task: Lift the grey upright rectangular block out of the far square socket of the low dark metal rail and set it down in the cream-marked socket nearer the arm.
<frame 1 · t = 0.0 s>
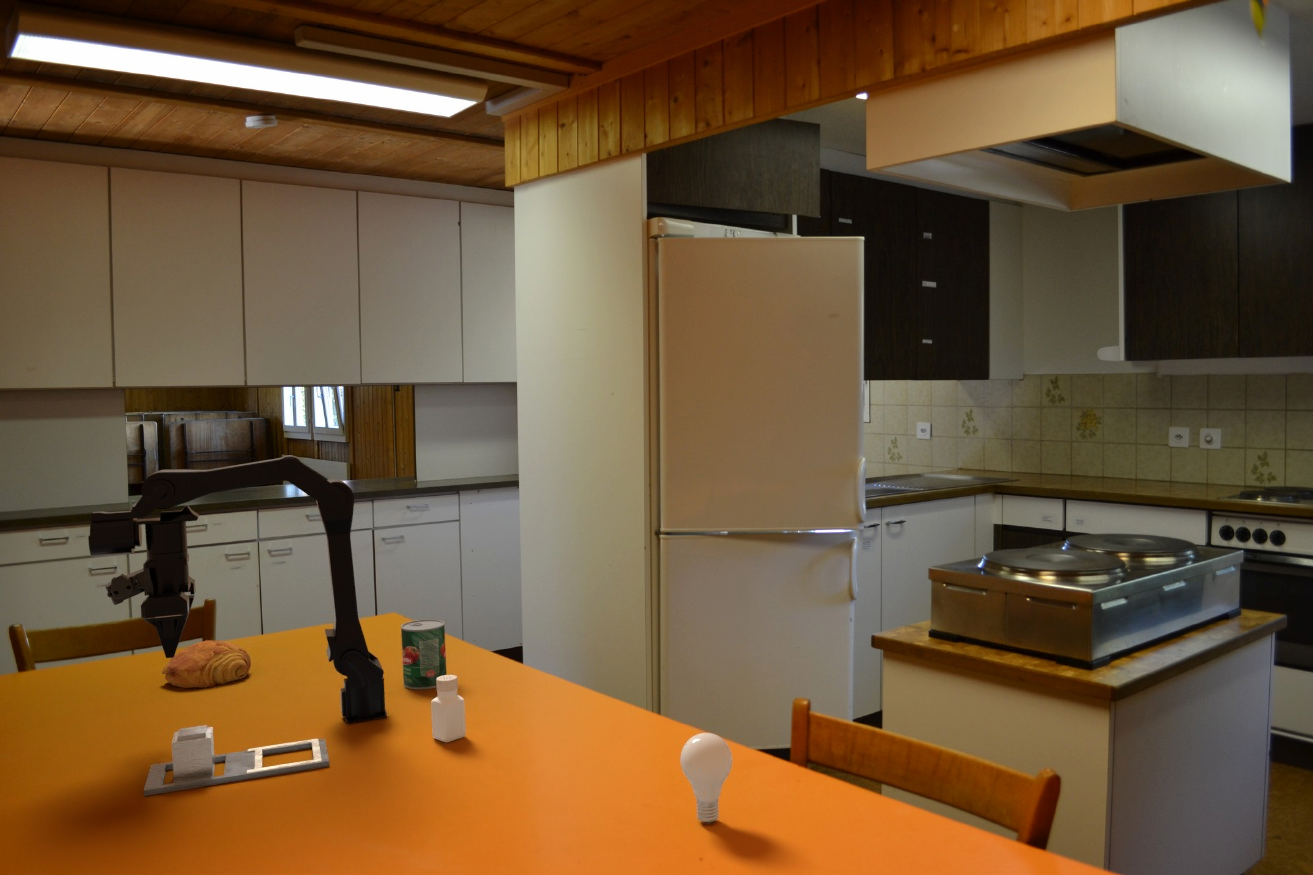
hand: (172, 650, 154), 15 cm above the table, fingers open, 9 cm apart
grey upright rectangular block: (194, 775, 141), resting in rail
canned tomato: (425, 684, 182), on the table
croissant: (207, 679, 190), on the table
rail: (240, 768, 143), on the table
lightbulb: (708, 823, 121), on the table
pepper shaker: (449, 739, 153), on the table
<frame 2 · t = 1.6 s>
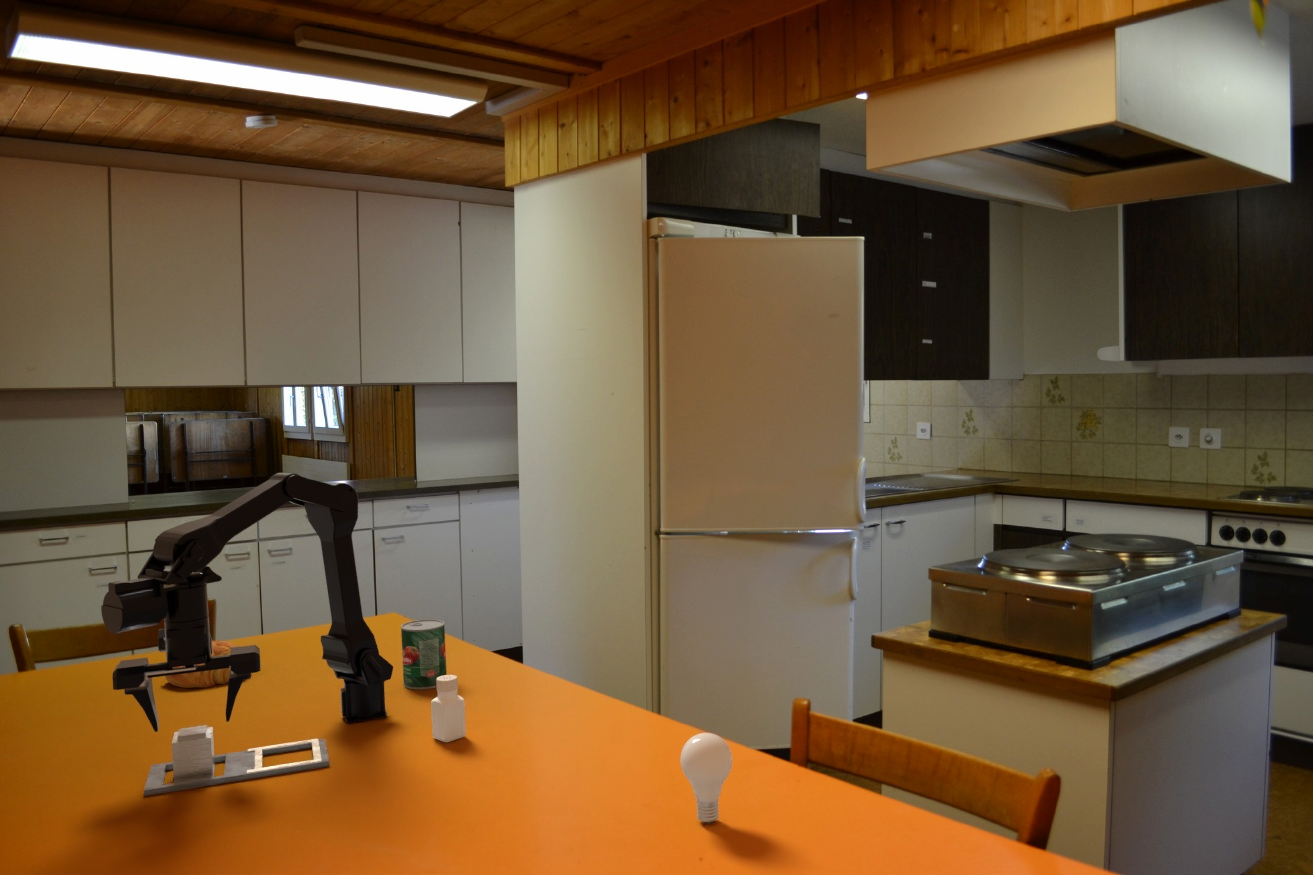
hand: (192, 725, 141), 7 cm above the table, fingers open, 9 cm apart
nothing on the table moved.
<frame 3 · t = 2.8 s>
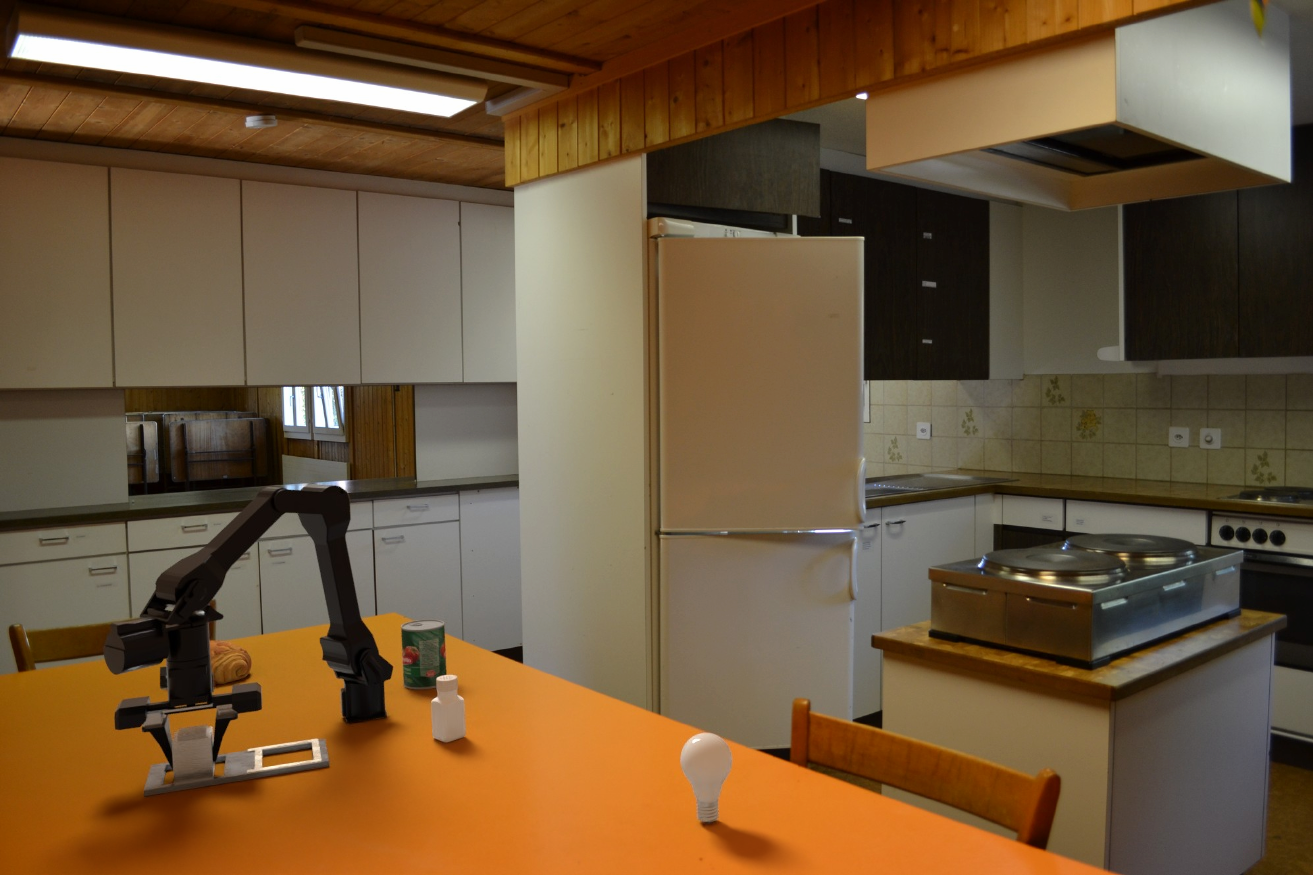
hand: (194, 764, 141), 2 cm above the table, fingers closed on grey upright rectangular block, 5 cm apart
grey upright rectangular block: (194, 775, 141), resting in rail, touching gripper
everything else where it was.
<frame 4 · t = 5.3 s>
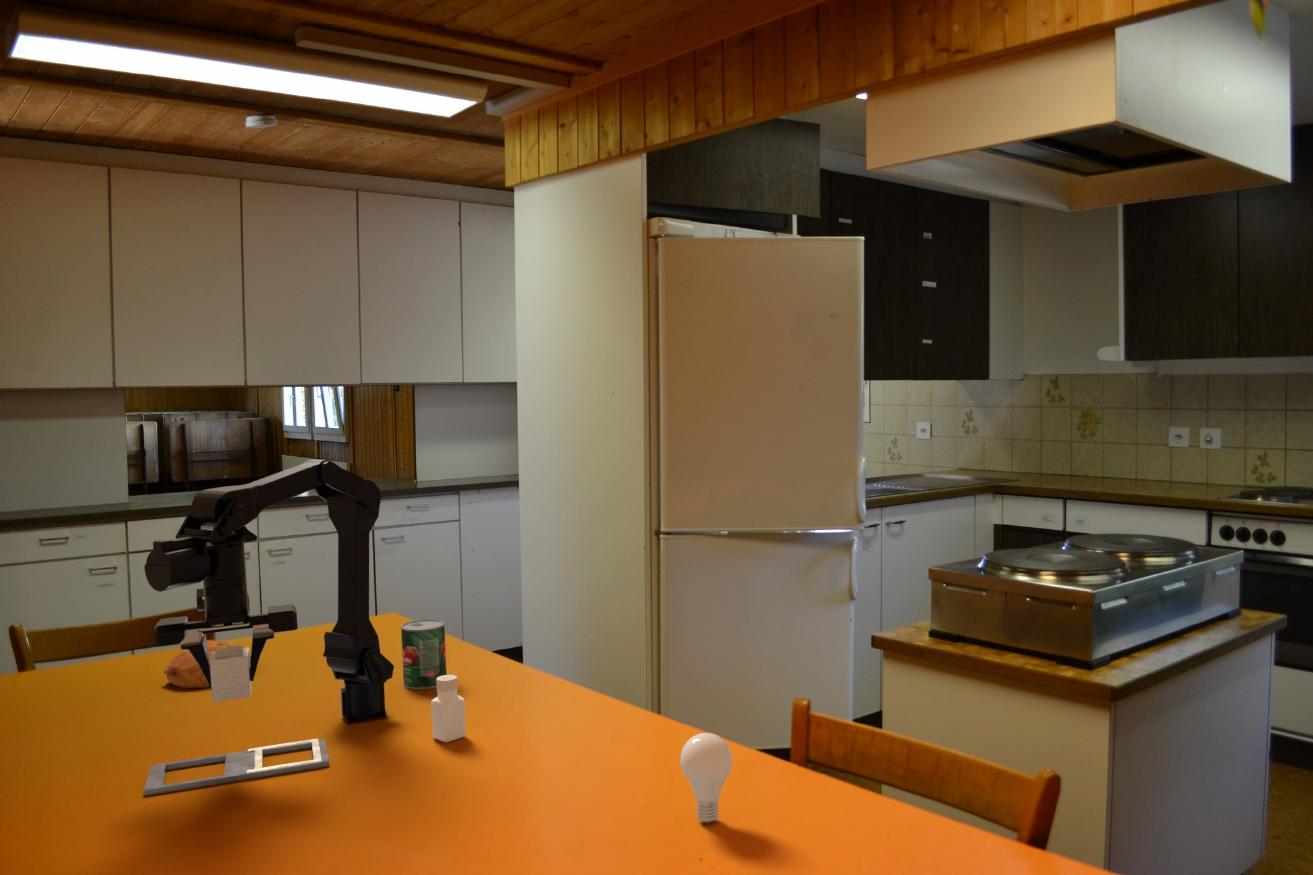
hand: (232, 683, 142), 13 cm above the table, fingers closed on grey upright rectangular block, 5 cm apart
grey upright rectangular block: (232, 694, 143), point 11 cm above the table, touching gripper
everything else where it was.
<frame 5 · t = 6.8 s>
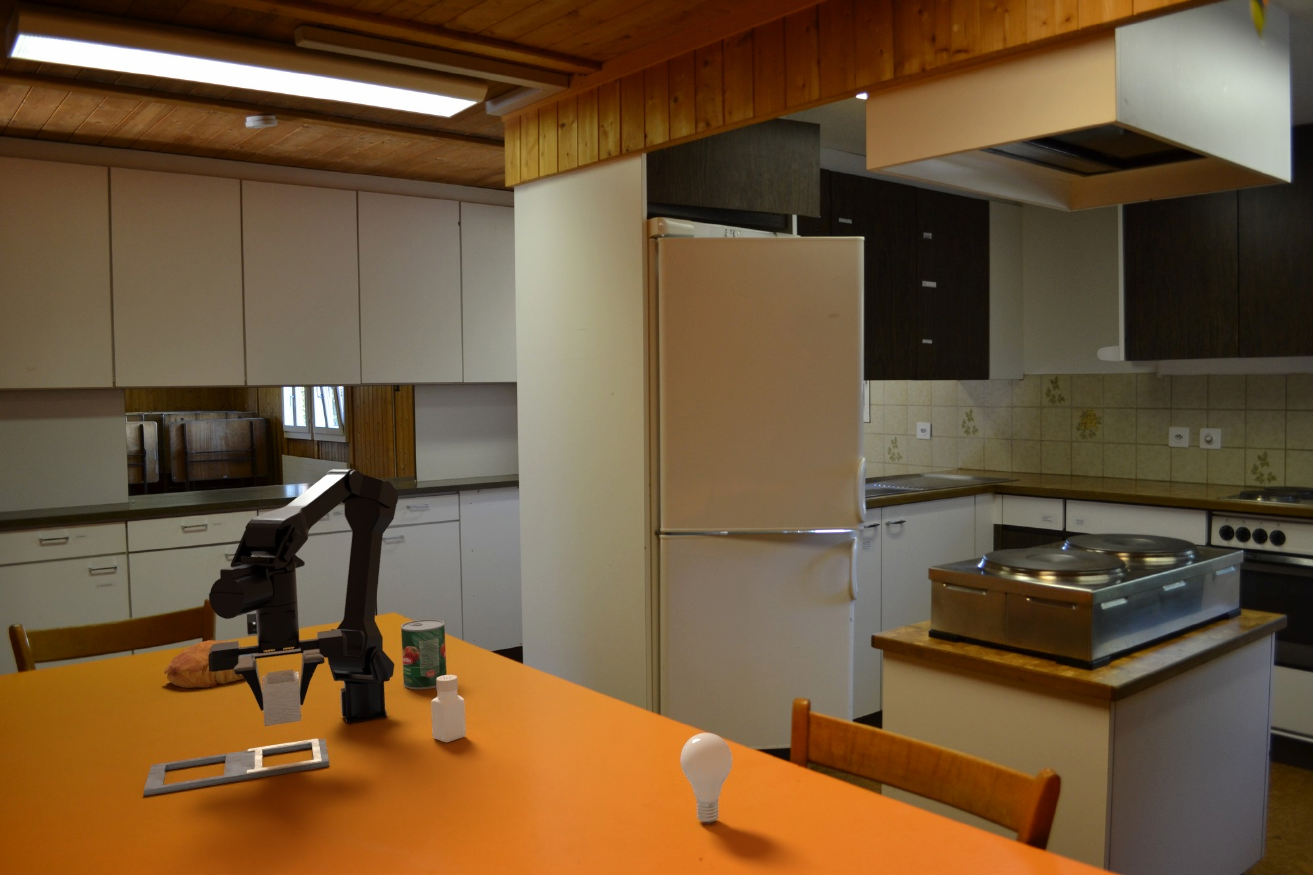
hand: (282, 707, 145), 8 cm above the table, fingers closed on grey upright rectangular block, 5 cm apart
grey upright rectangular block: (282, 718, 145), point 6 cm above the table, touching gripper
everything else where it was.
when the fingers open (3 cm above the table, at t = 8.1 s): grey upright rectangular block drops 2 cm, resting in rail.
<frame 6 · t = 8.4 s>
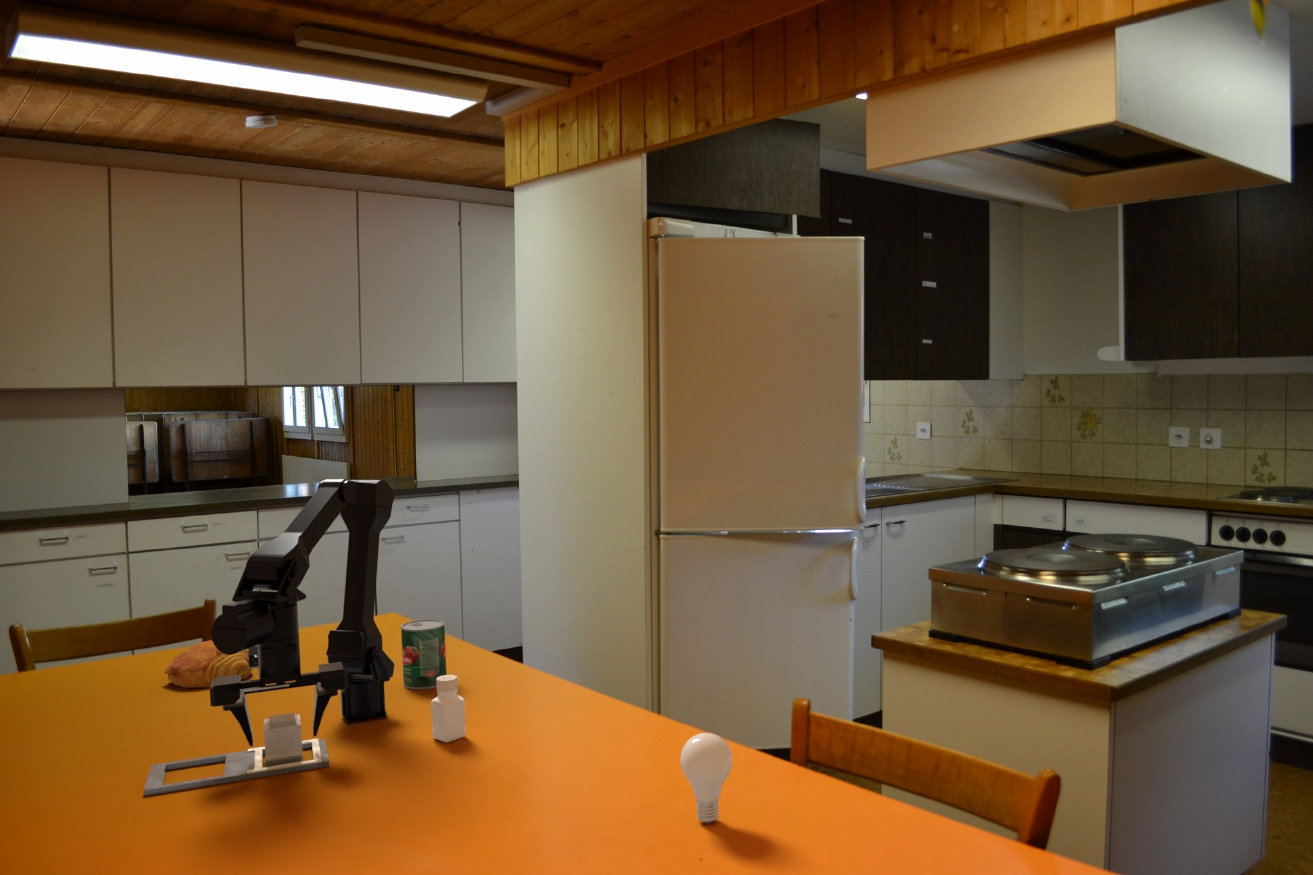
hand: (283, 740, 145), 3 cm above the table, fingers open, 8 cm apart
grey upright rectangular block: (284, 761, 145), resting in rail
everything else where it was.
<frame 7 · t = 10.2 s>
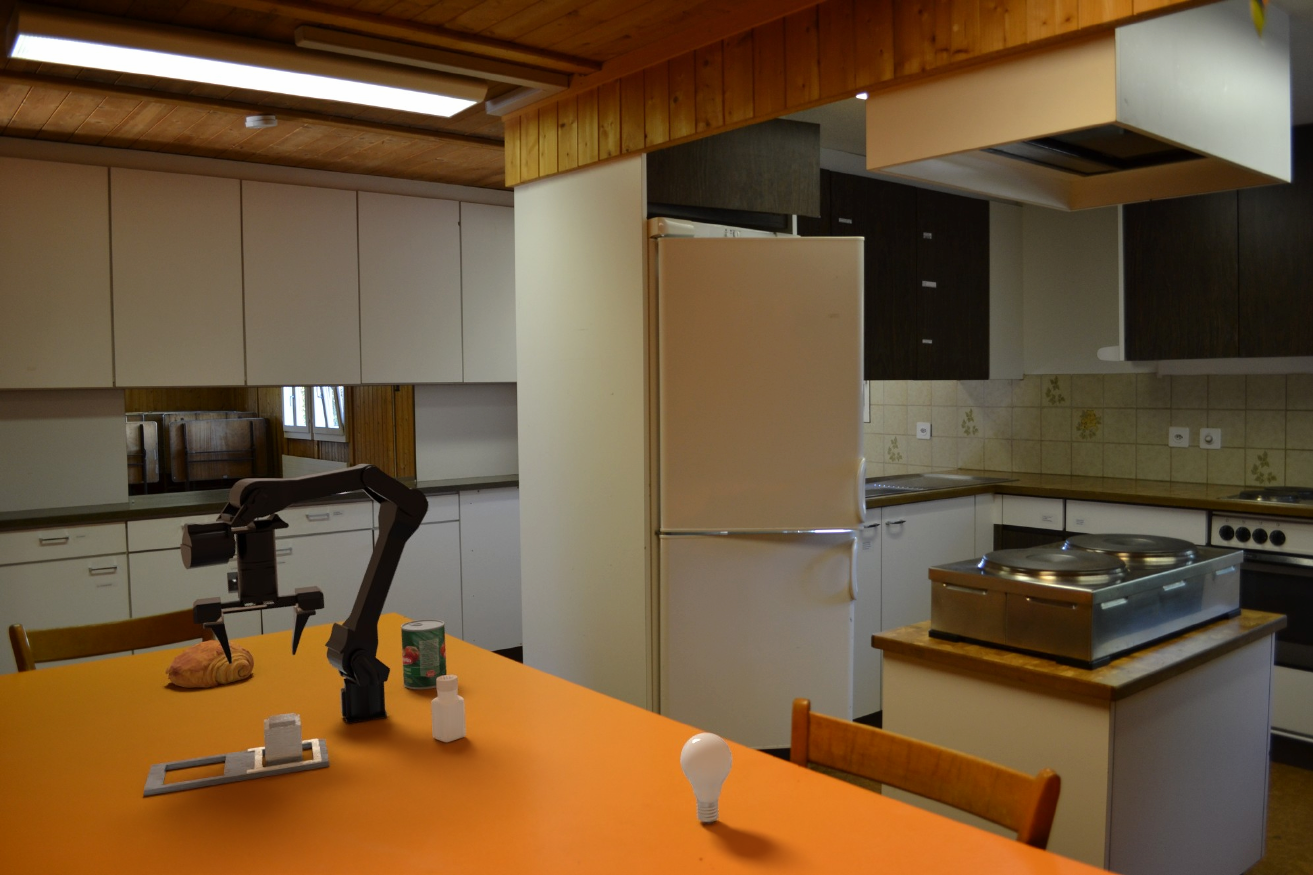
hand: (262, 658, 154), 13 cm above the table, fingers open, 9 cm apart
nothing on the table moved.
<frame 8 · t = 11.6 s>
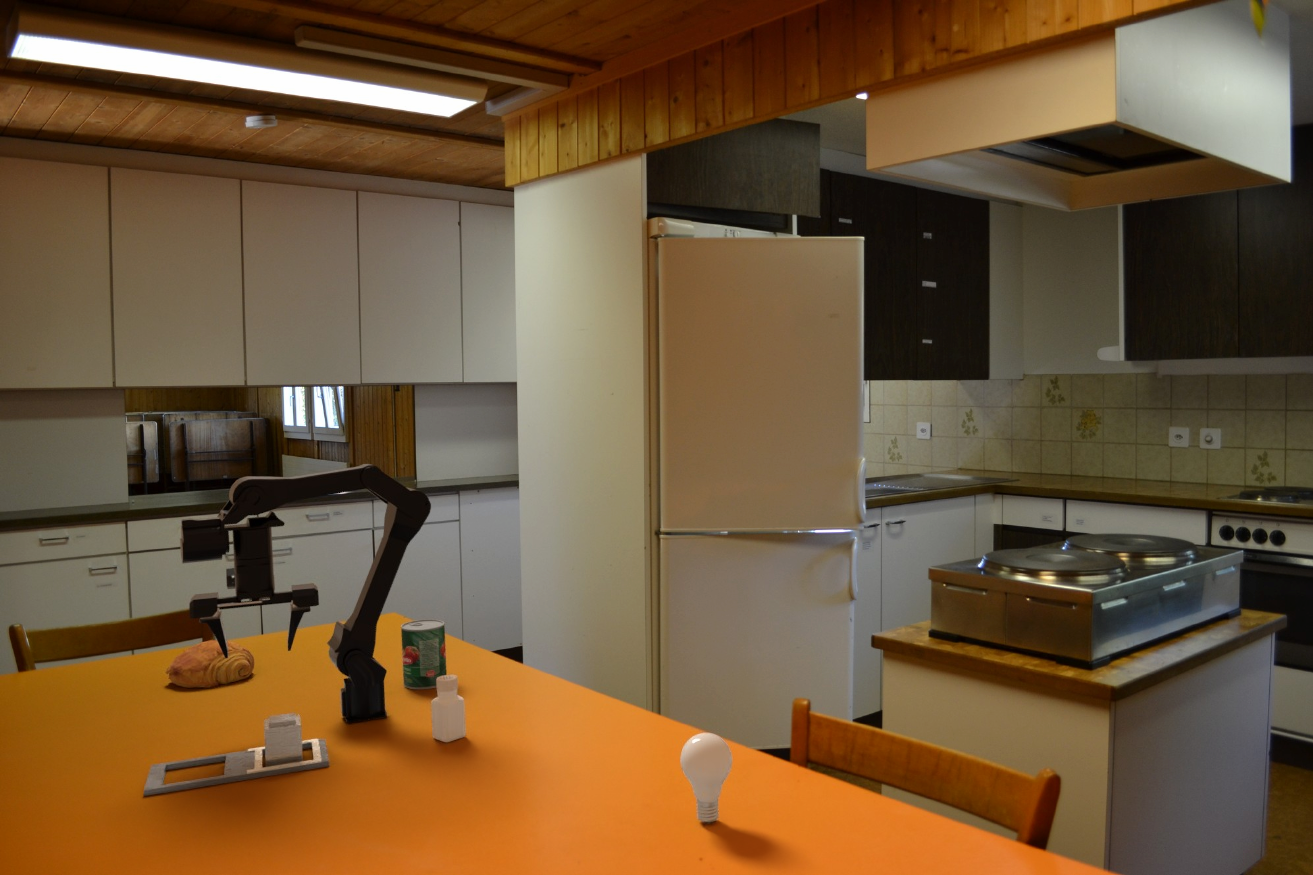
hand: (258, 653, 157), 13 cm above the table, fingers open, 9 cm apart
nothing on the table moved.
at the end: grey upright rectangular block 0.0 cm from the target spot on the rail, point 0.0 cm above the rail's base; grey upright rectangular block tilted 0°; the gripper is holding nothing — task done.
